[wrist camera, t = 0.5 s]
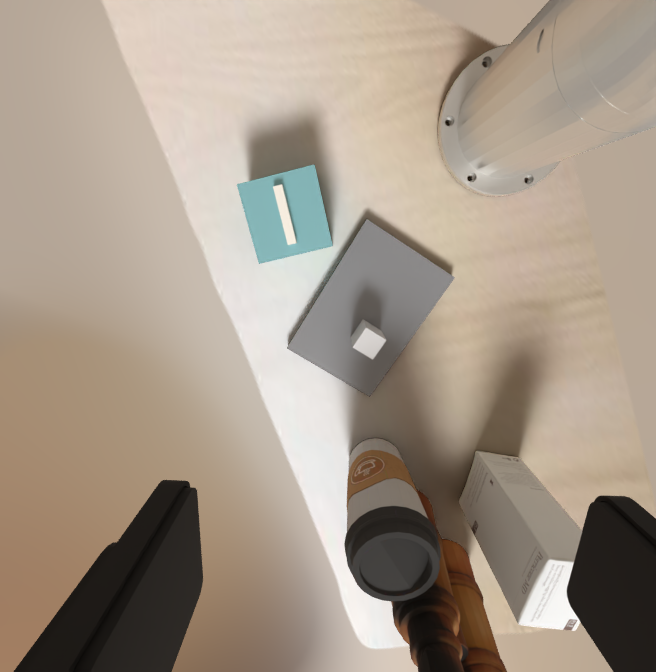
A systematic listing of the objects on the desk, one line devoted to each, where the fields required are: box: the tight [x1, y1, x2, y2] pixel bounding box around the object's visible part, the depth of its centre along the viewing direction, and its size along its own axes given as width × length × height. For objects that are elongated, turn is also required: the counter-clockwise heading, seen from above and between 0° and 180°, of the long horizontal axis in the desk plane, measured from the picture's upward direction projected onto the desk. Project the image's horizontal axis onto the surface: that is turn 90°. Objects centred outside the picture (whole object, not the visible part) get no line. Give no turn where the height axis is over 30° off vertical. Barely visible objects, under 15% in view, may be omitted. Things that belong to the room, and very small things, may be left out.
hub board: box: [287, 219, 455, 397], centre depth 36 cm, size 16×11×5 cm
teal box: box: [237, 164, 333, 264], centre depth 33 cm, size 7×7×6 cm
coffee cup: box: [345, 438, 441, 601], centre depth 36 cm, size 8×8×15 cm
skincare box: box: [459, 451, 582, 631], centre depth 37 cm, size 8×6×15 cm
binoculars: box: [391, 490, 507, 672], centre depth 37 cm, size 18×8×20 cm, turn 34°
